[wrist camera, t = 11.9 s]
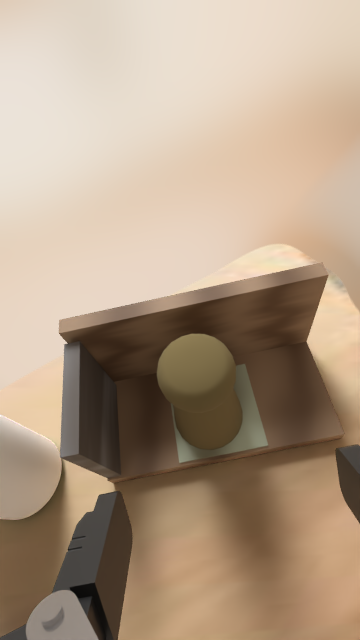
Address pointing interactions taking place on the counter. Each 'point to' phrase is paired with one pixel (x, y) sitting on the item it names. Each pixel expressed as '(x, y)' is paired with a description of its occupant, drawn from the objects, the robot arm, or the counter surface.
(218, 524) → the counter surface
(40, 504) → the can
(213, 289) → the shelf
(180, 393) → the cork
